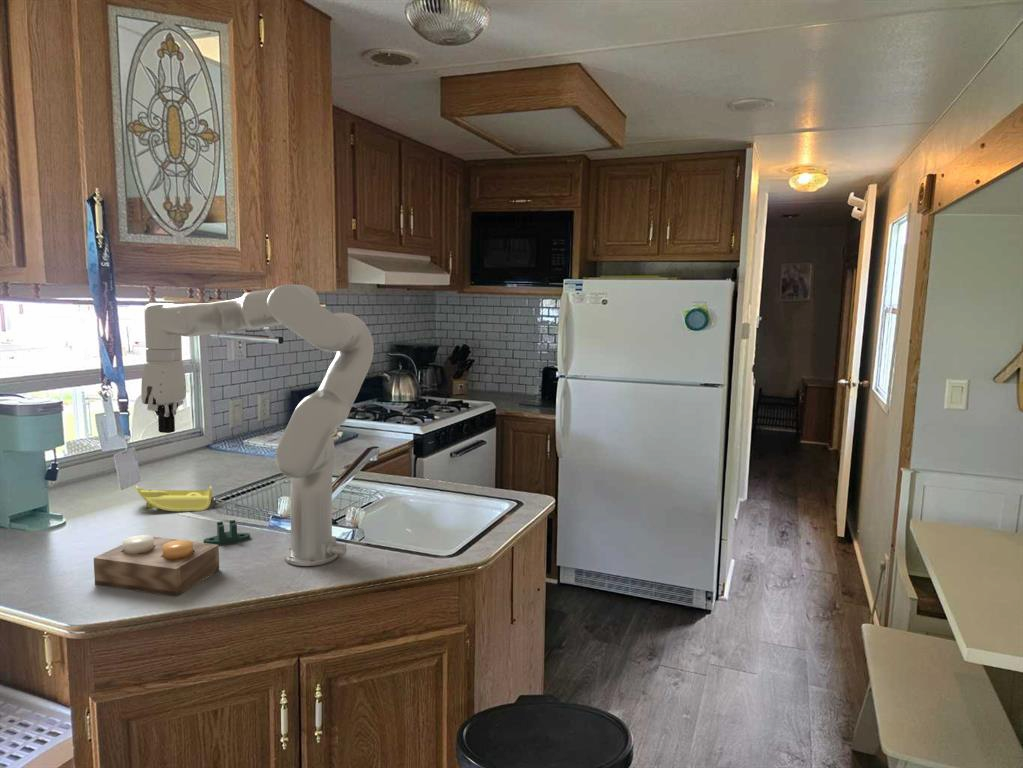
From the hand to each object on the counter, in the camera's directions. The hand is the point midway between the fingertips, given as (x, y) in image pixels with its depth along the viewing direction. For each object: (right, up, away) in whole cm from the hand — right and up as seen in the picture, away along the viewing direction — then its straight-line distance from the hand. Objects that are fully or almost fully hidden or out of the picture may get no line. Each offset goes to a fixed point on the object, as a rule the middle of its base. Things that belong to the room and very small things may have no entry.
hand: (166, 431), depth 161 cm
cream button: (0, -29, -12) cm, 31 cm away
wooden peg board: (+5, -31, -12) cm, 34 cm away
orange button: (+10, -30, -14) cm, 34 cm away
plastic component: (-15, -25, +35) cm, 45 cm away
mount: (+10, -29, +10) cm, 32 cm away
